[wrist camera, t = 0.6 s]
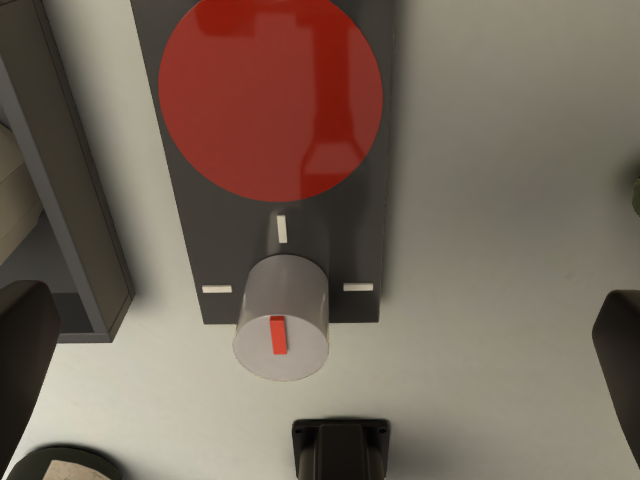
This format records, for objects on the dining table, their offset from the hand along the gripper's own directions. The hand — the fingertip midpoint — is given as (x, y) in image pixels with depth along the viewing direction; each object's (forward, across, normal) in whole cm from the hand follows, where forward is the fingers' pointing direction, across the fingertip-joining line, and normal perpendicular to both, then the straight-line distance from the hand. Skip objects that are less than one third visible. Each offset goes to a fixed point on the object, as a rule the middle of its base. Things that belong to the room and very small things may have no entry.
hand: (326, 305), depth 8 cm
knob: (+12, +2, +10) cm, 16 cm away
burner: (+12, +2, +1) cm, 13 cm away
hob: (+14, +2, +4) cm, 15 cm away
